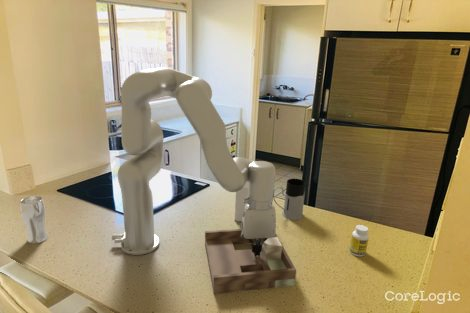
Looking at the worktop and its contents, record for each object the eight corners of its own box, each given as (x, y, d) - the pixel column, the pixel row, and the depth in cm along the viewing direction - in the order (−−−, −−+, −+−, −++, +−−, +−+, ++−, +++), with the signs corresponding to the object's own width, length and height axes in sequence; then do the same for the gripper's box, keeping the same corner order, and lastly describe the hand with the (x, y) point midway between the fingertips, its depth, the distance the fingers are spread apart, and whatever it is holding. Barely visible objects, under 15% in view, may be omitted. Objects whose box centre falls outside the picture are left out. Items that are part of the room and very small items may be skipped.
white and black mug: (306, 218, 135) (311, 185, 130) (275, 222, 131) (278, 188, 126) (297, 209, 143) (300, 177, 138) (267, 212, 139) (269, 179, 134)
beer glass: (54, 236, 115) (48, 198, 110) (35, 246, 109) (28, 206, 104) (40, 231, 118) (34, 193, 113) (21, 241, 112) (14, 201, 107)
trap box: (213, 293, 92) (214, 277, 90) (205, 245, 114) (205, 231, 112) (294, 285, 96) (296, 270, 95) (270, 240, 119) (272, 226, 117)
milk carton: (252, 223, 129) (255, 179, 123) (234, 221, 131) (236, 177, 124) (254, 215, 136) (257, 172, 130) (237, 212, 137) (240, 170, 131)
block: (265, 260, 103) (266, 246, 101) (261, 251, 108) (262, 238, 106) (280, 259, 104) (282, 245, 102) (276, 250, 109) (277, 237, 107)
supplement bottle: (357, 258, 110) (362, 233, 107) (345, 250, 115) (350, 225, 112) (368, 254, 113) (373, 229, 110) (356, 246, 117) (361, 222, 114)
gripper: (238, 208, 94) (235, 262, 100) (287, 206, 97) (282, 258, 102) (233, 197, 101) (231, 248, 107) (279, 195, 104) (275, 245, 109)
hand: (256, 253), depth 105 cm, fingers closed
